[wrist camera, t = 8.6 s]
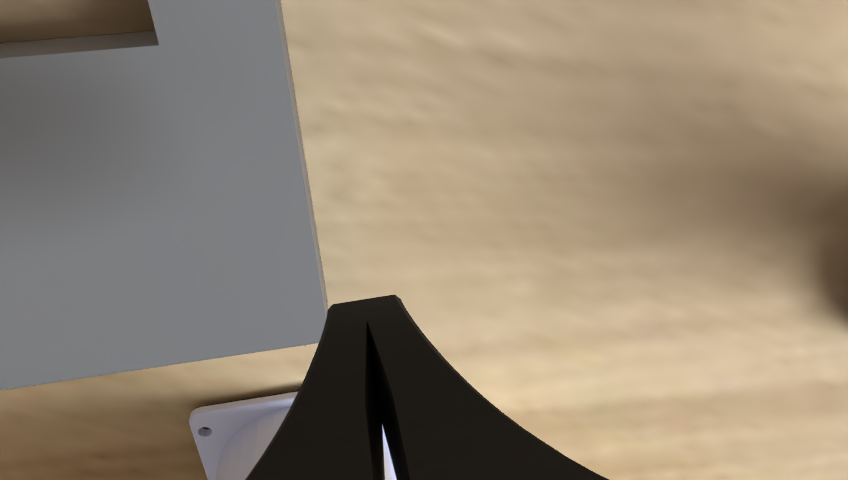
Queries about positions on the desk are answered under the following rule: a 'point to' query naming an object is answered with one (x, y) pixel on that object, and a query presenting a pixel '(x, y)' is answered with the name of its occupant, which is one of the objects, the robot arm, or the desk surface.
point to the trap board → (154, 197)
